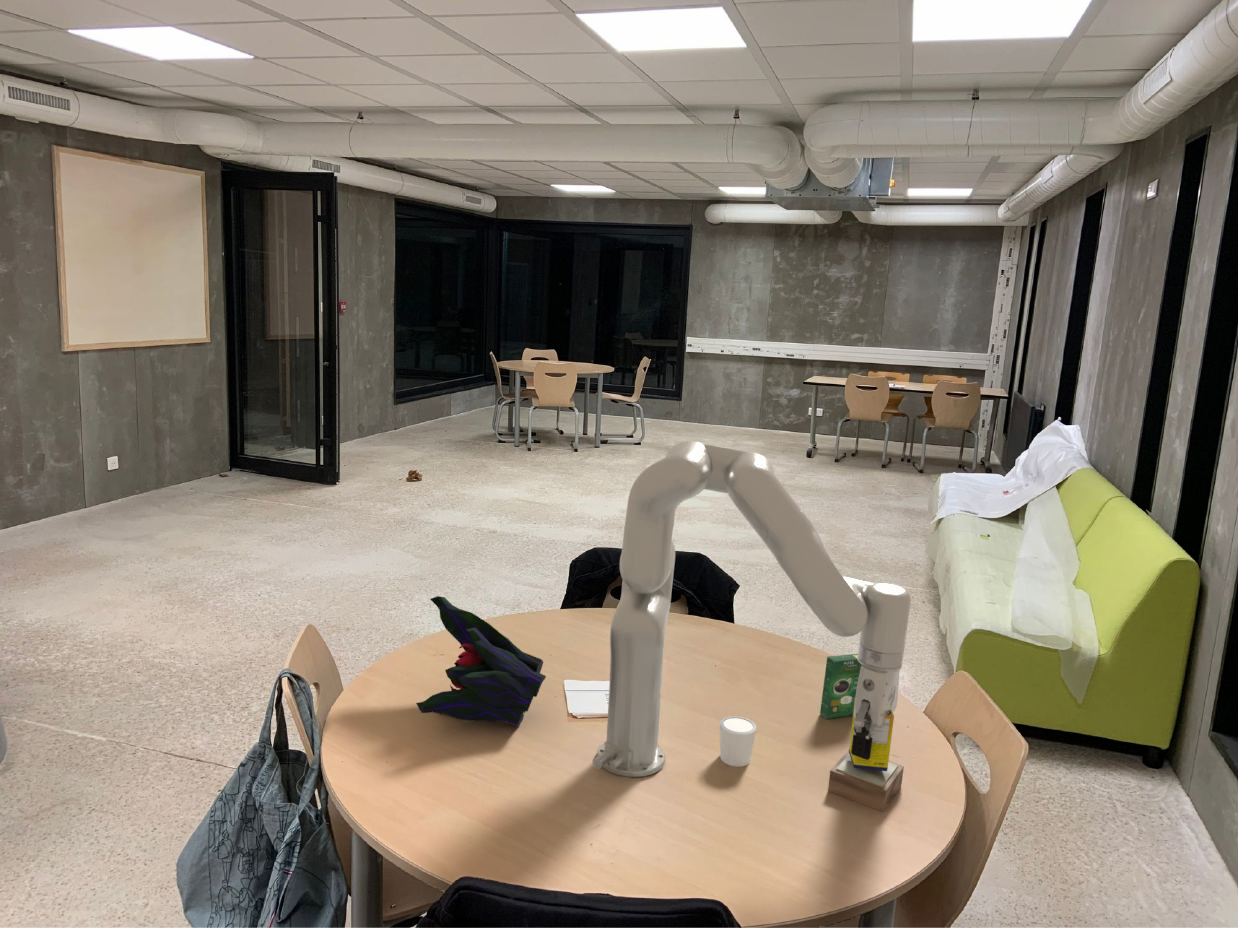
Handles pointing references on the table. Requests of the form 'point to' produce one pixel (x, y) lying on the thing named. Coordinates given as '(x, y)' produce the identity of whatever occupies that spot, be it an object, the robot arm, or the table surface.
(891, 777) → the brown small box
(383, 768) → the table surface
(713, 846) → the table surface
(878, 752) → the supplement box
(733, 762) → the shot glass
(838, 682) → the coffee box
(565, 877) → the table surface
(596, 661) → the table surface
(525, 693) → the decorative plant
